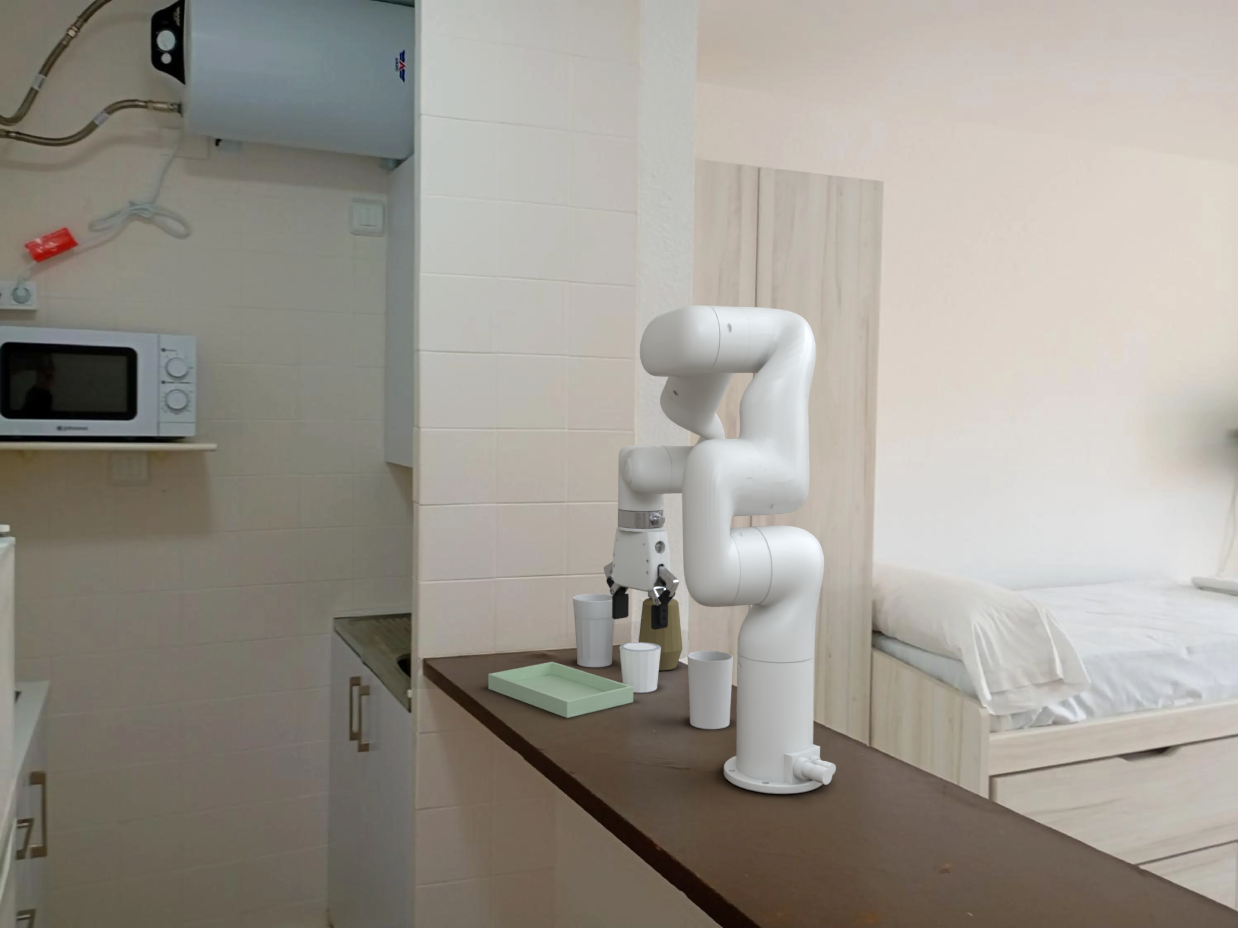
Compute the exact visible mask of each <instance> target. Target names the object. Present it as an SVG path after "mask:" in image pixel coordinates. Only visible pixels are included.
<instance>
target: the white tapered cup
mask: <svg viewBox="0 0 1238 928" xmlns="http://www.w3.org/2000/svg"><path fill="white" fill-rule="evenodd" d="M660 652H661V647H660V646H659V645H657V644H653V643H643V642H639V641H638V642H627V643H623V644H620V646H619V657H620V659H619V660H620V668H621V680H622V681H621V683H623V684H626V685H629V686H633V693H639V694H640V693H641V694H642V693H650V692H651V693H652V692H654V691H656V690H657V689H658V682H659V681H658V680H659V671H660V670H659V662H660Z"/></svg>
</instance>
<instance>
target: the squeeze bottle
mask: <svg viewBox="0 0 1238 928" xmlns="http://www.w3.org/2000/svg"><path fill="white" fill-rule="evenodd" d="M657 593H658V595H659V596H660V595H661V594H660V591H659V592H657ZM647 597H648V598H645V599H644V600H643V601H642V605H641V606H642V607H641V616H640V623H639V624H640V626H639V635H638V642H643V643H653V644H657V645H659V646H660V647H661V652H660V662H659V671H669V670H673V669H676V668H677V666H678V663H679V660H680V658H681V654H682V651H683V640H682V639H683V638H682V627H681V615H680V604H679V601H678V600H677V599H675V598H674V597H673V598H672V599H671V603H670V604H668V626H667V627H666V628H662V629H656V630H654V629H652V628H651V606H652V605H654V602H653V600H652V598H651V596H650V594H649V592H647Z"/></svg>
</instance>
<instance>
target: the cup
mask: <svg viewBox="0 0 1238 928" xmlns="http://www.w3.org/2000/svg"><path fill="white" fill-rule="evenodd" d="M612 596H613V595H611V594H607V593H583V594H578V595H574V596H573V597H572V605H573V617H574V632H575V643H576V645H575V646H576V664H577V665H579V666H581V667H586V668H604V667H608V666H611V665H612V664H613V647H614V635H615V623H616V619H613V618H612Z"/></svg>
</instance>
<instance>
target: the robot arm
mask: <svg viewBox="0 0 1238 928" xmlns="http://www.w3.org/2000/svg"><path fill="white" fill-rule="evenodd" d="M816 345H817V343H816V337H815V335H814V332H813V329H812V327H811V325H810V323H809V322H808V321H807V320H806V319H805V318H804V317H803V316H801V315H800V314H798V313H796V312H793V311H791V310H787V309H781V308H772V307H760V306H759V307H758V306H729V305H727V306H726V305H709V304H708V305H707V304H706V305H704V304H702V305H701V304H699V305H698V304H697V305H696V304H694V305H693V304H692V305H686V306H682V307H678V308H676V309H672V310H670V311H666V312H664V313H661V314H659V315H656V316H655V317H654V318H653V319H652V320H651V321H650V322H649V323H648V324H647V326H646V327H645V329H644V331H643V334H642V337H641V340H640V344H639V359H640V362H641V365H642V367H643V370H644V371H645V372H646V373H647V374H649V376H652V377H658V378H659V377H661V378H665V377H666V378H667V379H666V381H665V384H664V386H663V388H662V391H661V394H660V397H659V404H660V408H661V410H662V412H663V414H664V415H665V416H666V418H667V419H669V421H671V422H672V423H674V424H675V425H677V426H678V427H681V428H682V429H684V430H686V431H689V432H691V433H693V434H695V435H697V436H699V437H698V440H697V442H696V443H695V444H694V445H661V446H656V445H650V444H649V445H648V444H645V445H644V444H631V445H625V446H623V447H621V449H619V452H618V463H617V464H618V465H617V466H618V467H617V468H618V471H617V472H618V474H617V475H618V477H617V478H618V479H617V482H618V483H617V486H618V487H617V488H618V489H617V491H618V492H617V496H618V497H617V527H616V531H615V535H614V541H613V551H612V561H611V562H610V563H608V564H606V565H605V566H604V567H603V571H604V575H605V578H606V580H605V581H606V584H607V586H608V588H609V595H613V596H612V618H613V619H615V620H621V619H625V618H628V617H629V614H630V613H629V610H630V609H629V608H630V607H629V603H630V600H629V599H630V597H629V593H627V592H628V590H629V589H632V590H636V591H640V592H645V593H648V592H649V594H650V596H651V598H652V600H653V602H654V605H652V606H651V628H652V629H654V630H656V629H662V628H666V627H667V626H668V604H670V603H671V599H672V598H673V599H674V597H675V596H676V591H677V590H678V587H679V584H680V580H679V579H678V578H677V577H676V576H675V575H674V574H673V573H672V562H671V549H670V542H669V536H668V531H667V529H664V524H665V522H666V517H665V516H664V513H665V511H664V509H665V508H664V507H665V506H664V505H665V494H667V495H668V494H681V508H682V509H681V511H682V514H681V515H682V517H681V518H682V565H683V575H684V581H685V586H686V589H687V592H688V594H689V596H690V597H691V598H692V600H693V601H694V602H696V603H697V604H698V605H701V606H704V607H706V608H707V607H708V608H722V607H723V608H726V607H739V606H740V607H741V606H751V607H750V608H749V610H748V612H747V613H746V616H745V617H744V619H743V621H742V623H741V626H740V628H739V632H738V637H737V651H736V655H737V657H736V743H735V745H736V750H735V751H736V752H735V753H736V754H735V756H732V757H730V758H729V759H728V760H726V761H725V762H724V764H723V776H724V778H725V779H726V780H728V782H729V783H731V784H732V785H734V786H737V787H739V788H741V789H745V790H748V791H751V792H756V793H763V794H773V795H791V794H792V795H793V794H801V793H806V792H810V791H813V790H816V789H818V788H819V787H821V786H822V785H829V784H830V783H831V782H832V779H833V776H834V774H835V773H836V770H837V766H836V764H835V763H833V762H829V761H826V760H822V759H821V746H820V745H816V744H814V717H815V716H814V711H815V704H814V703H815V654H816V653H815V649H816V647H815V645H816V644H815V643H816V641H815V640H816V625H817V624H816V621H817V612H818V605H819V604H818V603H819V600H820V599H819V598H820V593H821V589H822V584H823V580H824V573H825V555H824V551H823V548H822V545H821V543H820V542H819V540H818V538H817V537H816V536H815V535H814V534H812V533H811V532H810V531H807V530H806V529H804V528H801V527H798V526H794V525H793V526H792V525H783V524H782V525H756V526H755V525H753V526H747V527H745V526H744V527H731V526H732V519H733V517H750V516H753V517H754V516H773V515H782V514H783V515H784V514H790V513H793V512H797V511H799V510H800V509H801V508H803V506H804V505H805V504H806V503H807V500H808V497H809V493H810V476H811V475H810V471H811V470H810V469H811V468H810V421H809V420H810V417H809V402H810V401H809V400H810V393H811V387H812V382H813V378H814V373H815V368H816V361H817V346H816ZM735 374H755V375H754V376H753V377H752V379H751V380H750V382H749V383H748V385H747V387H746V388H745V390H744V391H743V393H742V395H741V399H740V402H739V408H738V409H739V411H738V414H739V434H738V438H726V435H725V429H724V426H723V424H722V421H721V419H720V417H719V416H718V414H717V411H718V409H719V407H720V405H721V403H722V400H723V399H724V396H725V394H726V393H727V390H728V388H729V386H730V384H731V381H732V379H733V377H734V375H735ZM659 591H660V594H661V595H660V596H659V595H658V593H657V592H659Z"/></svg>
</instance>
